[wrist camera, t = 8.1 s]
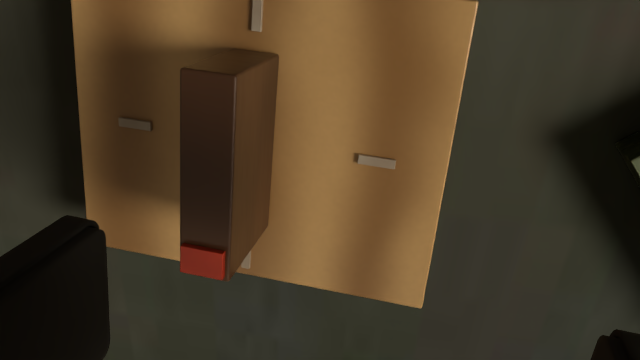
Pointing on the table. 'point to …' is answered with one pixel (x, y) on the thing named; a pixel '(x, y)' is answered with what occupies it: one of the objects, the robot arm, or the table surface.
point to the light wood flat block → (284, 129)
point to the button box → (631, 154)
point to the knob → (225, 158)
